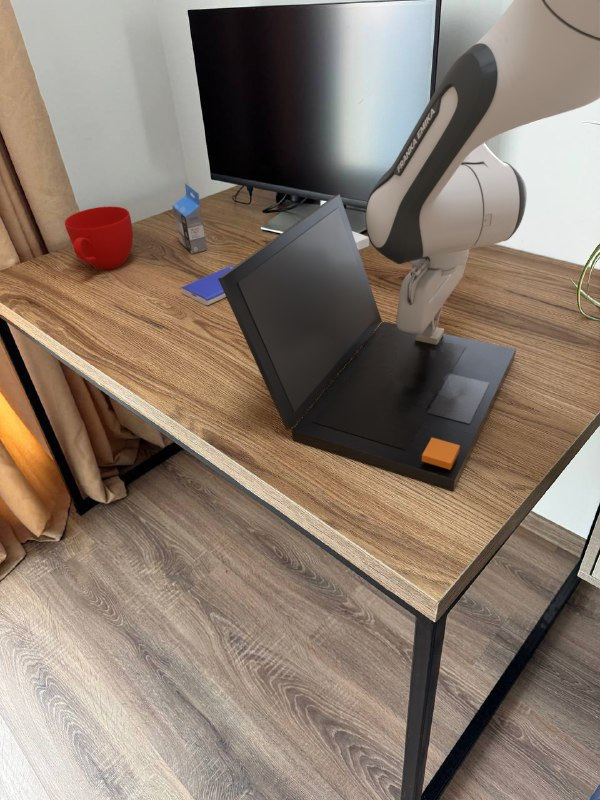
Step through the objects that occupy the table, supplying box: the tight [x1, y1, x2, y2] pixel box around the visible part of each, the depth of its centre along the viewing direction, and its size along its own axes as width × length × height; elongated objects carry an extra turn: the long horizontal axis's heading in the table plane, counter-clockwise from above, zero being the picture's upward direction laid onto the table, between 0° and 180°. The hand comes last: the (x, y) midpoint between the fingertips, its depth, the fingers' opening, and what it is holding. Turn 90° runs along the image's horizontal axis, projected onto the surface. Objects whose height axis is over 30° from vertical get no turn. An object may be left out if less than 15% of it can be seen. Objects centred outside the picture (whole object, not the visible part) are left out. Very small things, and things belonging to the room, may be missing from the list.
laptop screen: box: [218, 193, 383, 431], centre depth 80 cm, size 21×30×1 cm
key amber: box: [422, 438, 460, 470], centre depth 68 cm, size 3×3×1 cm
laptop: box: [291, 321, 517, 492], centre depth 81 cm, size 21×30×2 cm
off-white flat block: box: [415, 326, 445, 345], centre depth 89 cm, size 3×3×1 cm
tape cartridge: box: [172, 183, 208, 255], centre depth 126 cm, size 9×4×12 cm, turn 28°
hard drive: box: [180, 264, 236, 306], centre depth 112 cm, size 2×8×12 cm
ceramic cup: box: [64, 205, 134, 270], centre depth 121 cm, size 13×17×10 cm
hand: (429, 331), depth 89 cm, fingers closed, pressing on off-white flat block
